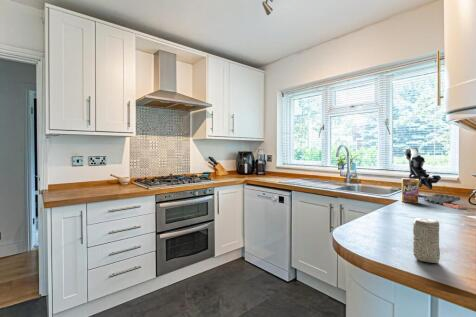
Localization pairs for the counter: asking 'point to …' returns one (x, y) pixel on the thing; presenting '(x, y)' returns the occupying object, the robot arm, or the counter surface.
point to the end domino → (454, 205)
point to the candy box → (410, 190)
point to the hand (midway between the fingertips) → (431, 189)
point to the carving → (426, 240)
